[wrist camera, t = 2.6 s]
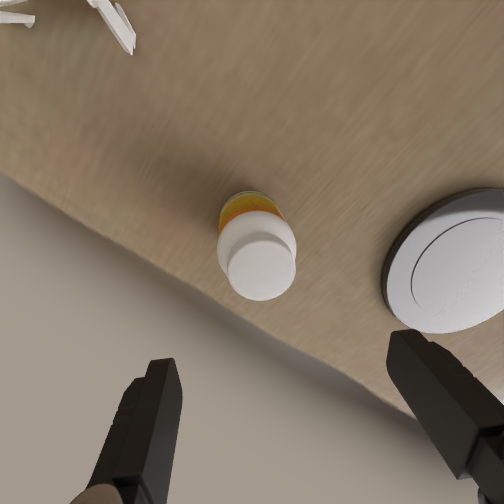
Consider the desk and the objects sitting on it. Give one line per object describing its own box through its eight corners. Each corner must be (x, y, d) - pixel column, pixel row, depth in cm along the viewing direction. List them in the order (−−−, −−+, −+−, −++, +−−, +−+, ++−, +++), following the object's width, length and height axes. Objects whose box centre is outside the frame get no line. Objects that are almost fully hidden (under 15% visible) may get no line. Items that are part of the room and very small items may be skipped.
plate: (349, 281, 28) (354, 287, 27) (482, 149, 24) (495, 151, 22) (437, 347, 33) (445, 355, 32) (561, 249, 29) (575, 255, 27)
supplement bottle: (207, 210, 24) (194, 260, 15) (260, 177, 23) (280, 209, 14) (239, 257, 26) (246, 325, 17) (289, 228, 25) (323, 284, 16)
